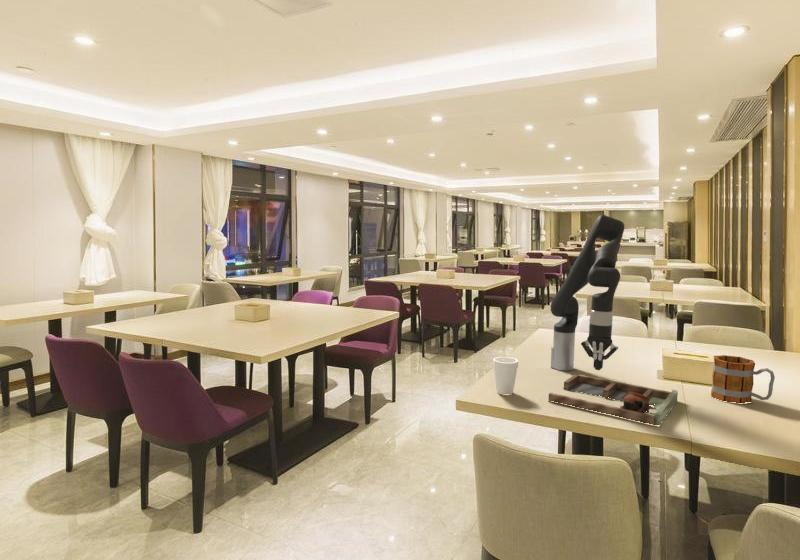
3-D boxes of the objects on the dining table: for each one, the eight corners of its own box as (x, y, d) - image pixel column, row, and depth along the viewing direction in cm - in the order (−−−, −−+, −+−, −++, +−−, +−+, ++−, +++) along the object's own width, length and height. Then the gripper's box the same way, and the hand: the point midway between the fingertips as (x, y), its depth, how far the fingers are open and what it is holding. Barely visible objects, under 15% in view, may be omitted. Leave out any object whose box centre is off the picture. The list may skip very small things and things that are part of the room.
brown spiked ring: (612, 410, 173) (619, 388, 175) (634, 421, 174) (642, 399, 175) (633, 414, 161) (641, 391, 163) (657, 426, 162) (665, 403, 164)
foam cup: (502, 398, 183) (503, 364, 182) (487, 390, 191) (488, 358, 190) (522, 394, 187) (523, 361, 186) (506, 387, 196) (507, 355, 194)
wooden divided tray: (546, 401, 180) (546, 390, 180) (575, 380, 205) (576, 371, 204) (658, 427, 157) (659, 415, 156) (677, 401, 181) (677, 390, 181)
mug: (703, 397, 186) (706, 358, 184) (717, 390, 194) (720, 353, 193) (766, 412, 170) (769, 370, 169) (777, 404, 179) (781, 364, 177)
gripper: (623, 323, 174) (619, 370, 176) (585, 318, 182) (582, 363, 184) (617, 327, 168) (613, 375, 170) (578, 321, 176) (575, 368, 178)
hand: (597, 369), depth 177 cm, fingers closed
